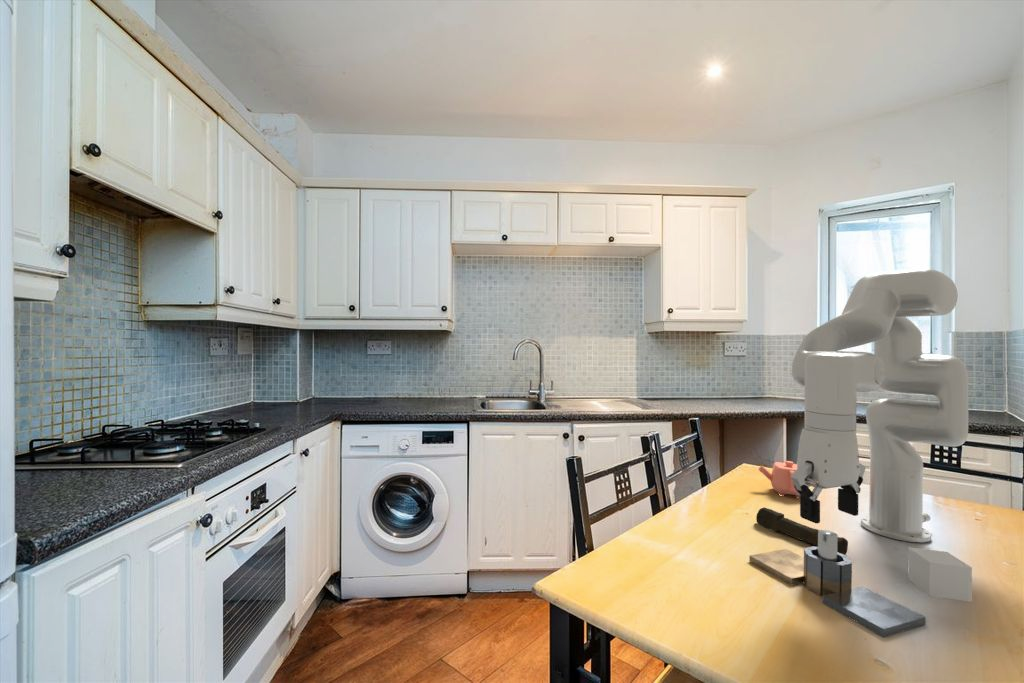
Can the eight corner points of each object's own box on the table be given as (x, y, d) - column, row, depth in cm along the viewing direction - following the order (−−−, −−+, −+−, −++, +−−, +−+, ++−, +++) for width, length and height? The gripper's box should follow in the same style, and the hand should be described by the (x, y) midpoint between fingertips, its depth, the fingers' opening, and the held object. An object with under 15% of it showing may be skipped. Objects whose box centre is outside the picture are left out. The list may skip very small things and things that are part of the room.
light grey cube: (946, 584, 80) (947, 551, 80) (971, 602, 74) (972, 567, 74) (907, 578, 82) (908, 546, 82) (929, 596, 76) (929, 562, 76)
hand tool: (850, 556, 90) (850, 534, 90) (838, 560, 89) (839, 537, 89) (764, 522, 107) (764, 503, 108) (753, 524, 106) (753, 505, 106)
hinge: (785, 554, 90) (786, 525, 90) (925, 624, 68) (926, 586, 68) (749, 561, 87) (749, 531, 87) (883, 637, 64) (884, 596, 64)
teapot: (756, 489, 132) (756, 458, 133) (785, 486, 136) (785, 455, 136) (791, 502, 121) (791, 468, 122) (821, 498, 125) (822, 465, 125)
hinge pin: (824, 583, 79) (825, 528, 79) (840, 591, 76) (841, 535, 76) (813, 586, 78) (814, 530, 78) (829, 594, 75) (830, 537, 75)
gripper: (841, 415, 84) (840, 503, 84) (775, 421, 78) (774, 515, 78) (885, 422, 77) (884, 518, 77) (816, 429, 71) (815, 532, 71)
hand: (829, 516), depth 78 cm, fingers open, 9 cm apart
